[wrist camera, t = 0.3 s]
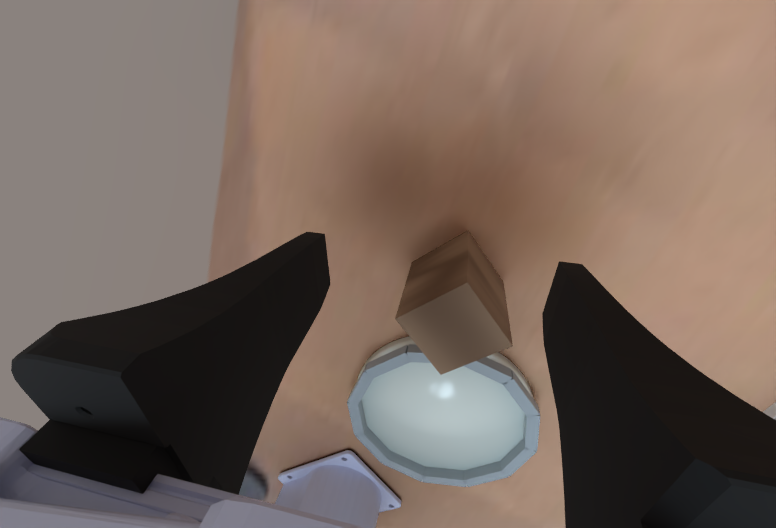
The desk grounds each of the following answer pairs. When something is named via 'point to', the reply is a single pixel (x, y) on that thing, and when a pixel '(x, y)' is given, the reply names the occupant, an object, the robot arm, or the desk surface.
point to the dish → (444, 416)
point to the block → (455, 305)
